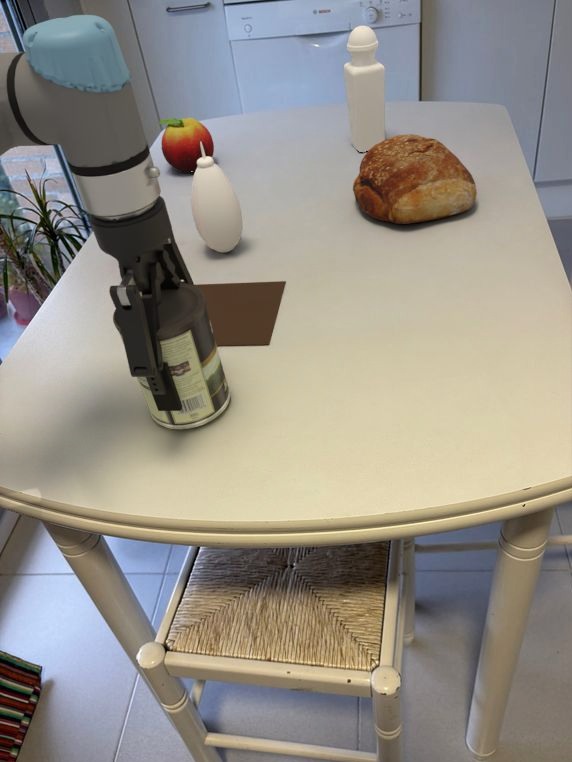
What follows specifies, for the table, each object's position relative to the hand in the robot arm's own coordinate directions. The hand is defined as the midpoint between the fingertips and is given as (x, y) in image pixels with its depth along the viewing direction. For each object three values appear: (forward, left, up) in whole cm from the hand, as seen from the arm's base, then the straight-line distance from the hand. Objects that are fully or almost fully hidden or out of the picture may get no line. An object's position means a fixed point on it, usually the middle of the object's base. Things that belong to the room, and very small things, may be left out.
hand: (182, 378), depth 78 cm
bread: (+28, +52, -4) cm, 59 cm away
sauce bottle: (-4, +39, -4) cm, 39 cm away
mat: (0, +20, -4) cm, 20 cm away
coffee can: (0, 0, -4) cm, 4 cm away
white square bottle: (+18, +80, -4) cm, 82 cm away
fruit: (-19, +75, -4) cm, 77 cm away
